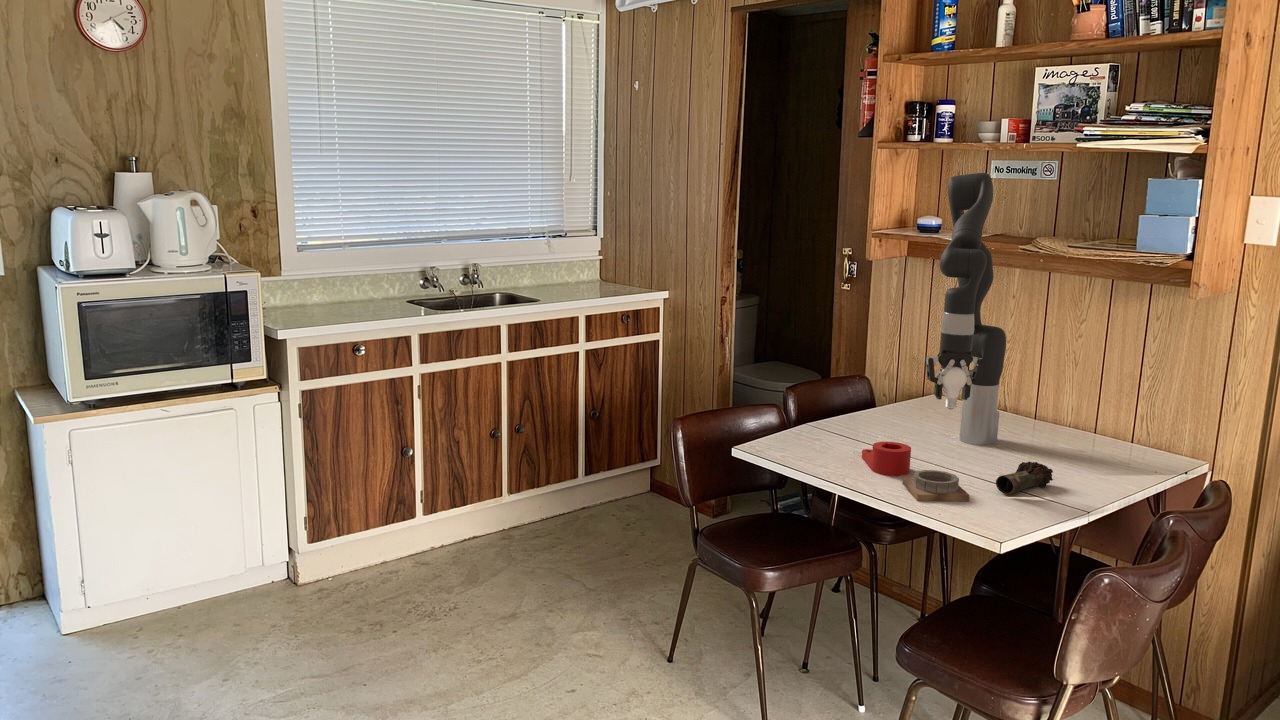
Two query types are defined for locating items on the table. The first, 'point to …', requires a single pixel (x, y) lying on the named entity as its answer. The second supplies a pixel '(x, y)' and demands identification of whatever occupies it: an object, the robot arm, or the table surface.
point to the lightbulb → (953, 385)
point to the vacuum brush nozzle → (1024, 478)
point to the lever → (888, 458)
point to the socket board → (933, 495)
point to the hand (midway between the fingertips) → (951, 398)
